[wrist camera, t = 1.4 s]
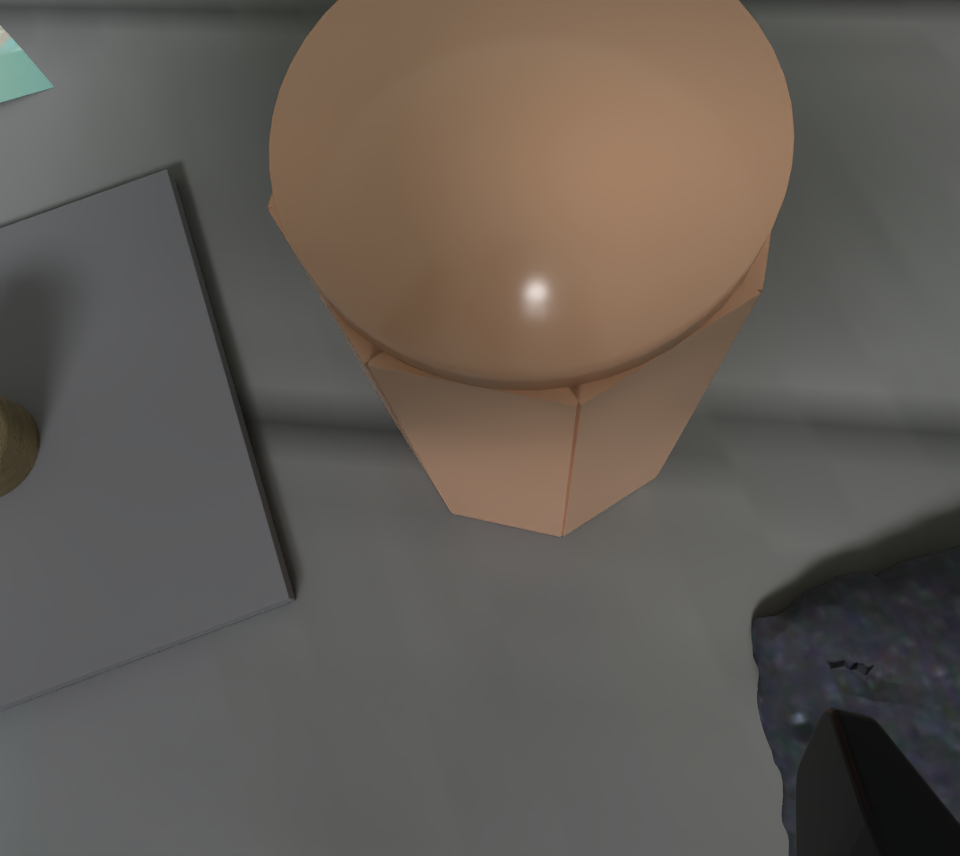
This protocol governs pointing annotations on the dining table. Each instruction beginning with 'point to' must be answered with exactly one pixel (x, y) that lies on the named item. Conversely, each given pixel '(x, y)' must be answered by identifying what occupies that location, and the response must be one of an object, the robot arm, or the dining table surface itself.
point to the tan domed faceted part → (534, 227)
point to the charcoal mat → (122, 447)
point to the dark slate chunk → (868, 668)
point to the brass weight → (16, 444)
